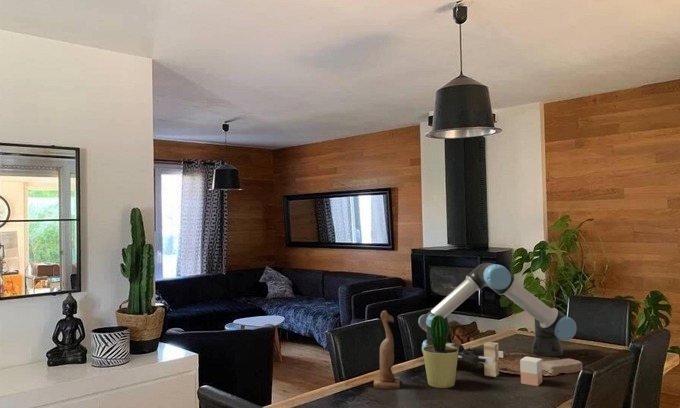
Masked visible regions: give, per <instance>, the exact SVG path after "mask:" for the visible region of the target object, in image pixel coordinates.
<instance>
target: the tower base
mask: <svg viewBox="0 0 680 408" xmlns="http://www.w3.org/2000/svg"><path fill="white" fill-rule="evenodd" d="M542 383H543V371H541V372H540V373H538V374H532V373H526V372H520V384H523V385H529V386H534V387H538V386H539V385H541V384H542Z"/></svg>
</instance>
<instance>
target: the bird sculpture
mask: <svg viewBox="0 0 680 408" xmlns="http://www.w3.org/2000/svg"><path fill="white" fill-rule="evenodd" d="M380 319H381V321H382V324H383V327H384V328H383V329H384V331H385V339H383V341H382V342H381V344H380V346H379V376H374V377H373V390H375V389H376V390H377V389H379V390H384V389H385V390H400V385H401V384H400V377H399V376H395V375H394V373H393V371H392V367H394V364H395V341H394V336H393V332H392V330H391V328H390V325H389V323H393V324H394V323H395V319H394V316H393V315H390V314H389V313H388V311H387V310H382V311H381V312H380Z"/></svg>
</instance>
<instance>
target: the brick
mask: <svg viewBox="0 0 680 408" xmlns="http://www.w3.org/2000/svg"><path fill="white" fill-rule="evenodd" d="M583 367H584V366H583V363H582V361H580V360H576V359H573V358H571V357H570V358H562V359H555V360H545V361H543V360H542V369H543V370H545V371H548V372H549V373H565V374H573V373H580V372H581V371H580V370H581V369H582V370H583ZM545 371H544V372H545ZM579 371H580V372H579ZM549 373H548V374H549Z"/></svg>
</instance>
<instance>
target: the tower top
mask: <svg viewBox="0 0 680 408" xmlns="http://www.w3.org/2000/svg"><path fill="white" fill-rule="evenodd" d="M542 362H543V359H542V358H539V357H538V358H537V357H532V356H524V357H522V358H521V359H520V360H519V365H520V367H519V371H520V373H521V372H526V373H532V374H538V373H540V372H541V371H542ZM542 372H543V371H542Z"/></svg>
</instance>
